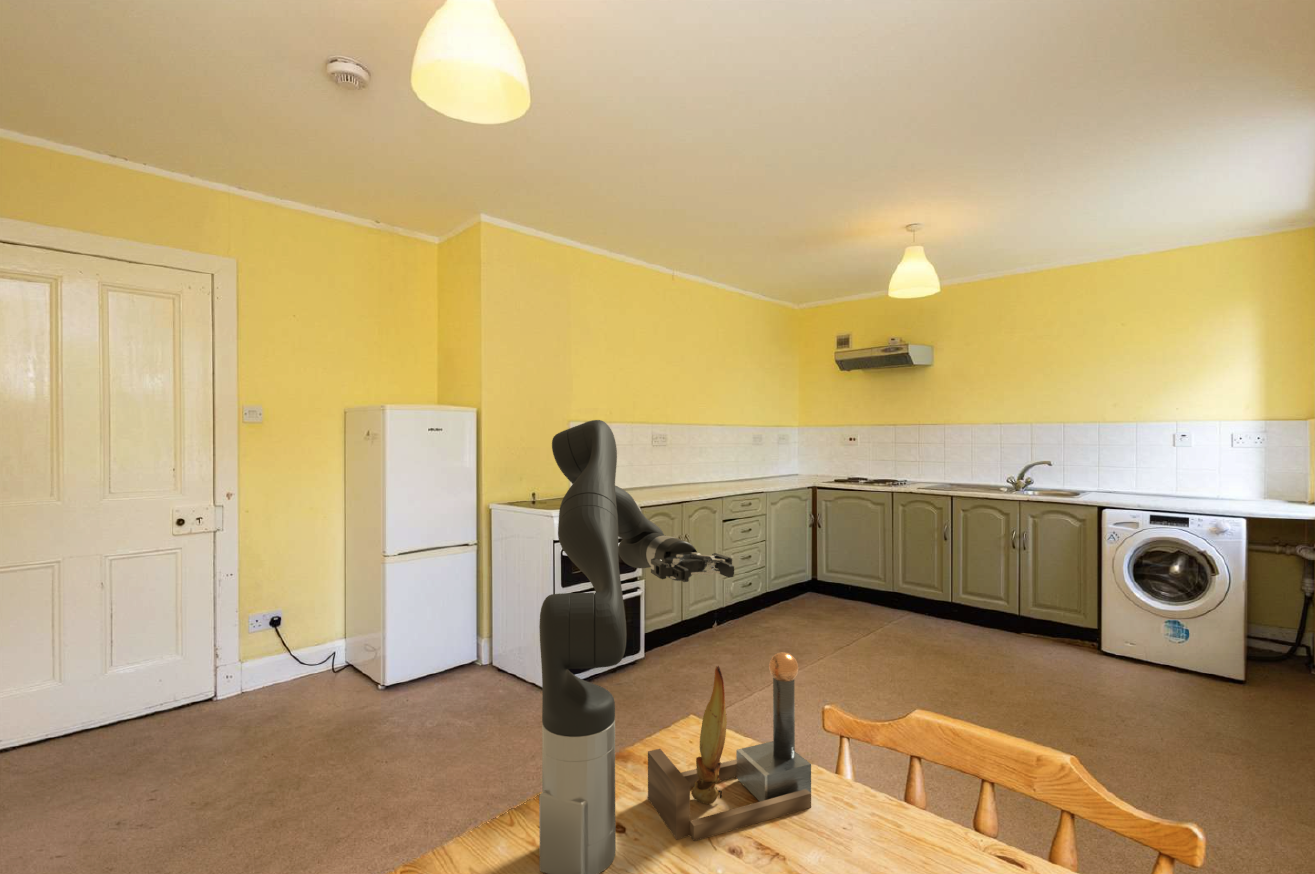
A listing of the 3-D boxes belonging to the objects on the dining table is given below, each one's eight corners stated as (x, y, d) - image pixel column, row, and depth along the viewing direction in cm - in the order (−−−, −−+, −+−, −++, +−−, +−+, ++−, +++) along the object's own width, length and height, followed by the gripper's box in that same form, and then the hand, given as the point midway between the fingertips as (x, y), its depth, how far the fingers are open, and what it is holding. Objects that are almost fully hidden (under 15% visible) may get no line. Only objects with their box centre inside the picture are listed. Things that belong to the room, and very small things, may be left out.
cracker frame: (680, 845, 81) (680, 791, 81) (644, 794, 92) (644, 747, 92) (811, 807, 89) (811, 758, 89) (763, 765, 100) (763, 722, 100)
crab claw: (728, 821, 86) (728, 677, 85) (691, 820, 86) (691, 676, 86) (725, 792, 93) (725, 659, 92) (691, 791, 93) (691, 658, 93)
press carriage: (765, 806, 88) (764, 668, 88) (736, 778, 96) (736, 650, 96) (812, 793, 91) (811, 659, 91) (781, 766, 99) (780, 643, 99)
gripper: (637, 540, 117) (671, 554, 102) (704, 535, 123) (746, 548, 108) (637, 579, 117) (671, 600, 102) (704, 573, 123) (746, 591, 108)
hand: (709, 573), depth 105 cm, fingers open, 8 cm apart
